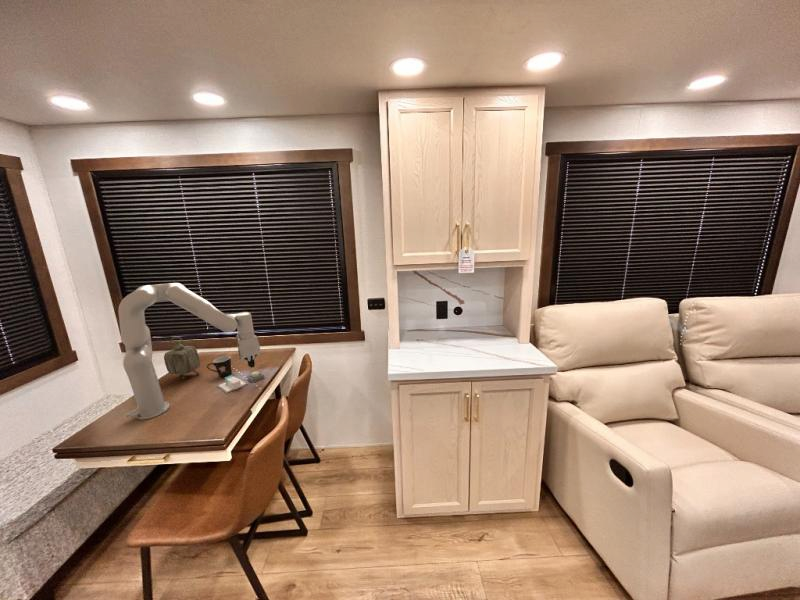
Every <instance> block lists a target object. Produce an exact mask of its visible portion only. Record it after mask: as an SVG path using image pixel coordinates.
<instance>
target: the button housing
mask: <svg viewBox="0 0 800 600" xmlns="http://www.w3.org/2000/svg"><path fill="white" fill-rule="evenodd" d="M258 372H259V375H260V376H257V377H255V378H252V377H251V374H249V375H246V379H247V381H249V382H250V383H256V382H259V381H260V380H263V379H265V374H264V373H262V372H260V371H258Z"/></svg>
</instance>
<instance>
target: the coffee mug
mask: <svg viewBox="0 0 800 600" xmlns="http://www.w3.org/2000/svg"><path fill="white" fill-rule="evenodd" d="M231 360H232V359H231V356H229V355H225V356H224V355H223V356H219V357H217V358H215V359H214V360H213V362H210V363H208V364H207V366H206V368H207V370H210V371H212V372H215V373H217V375H218V377H219V378H222V379H225V378H226V377H228V376H231V375H232V374H233V371H232V369H233V368H232V361H231ZM210 365H213V366H214V368H215V369H211V368H210V367H209V366H210Z"/></svg>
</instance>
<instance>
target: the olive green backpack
mask: <svg viewBox="0 0 800 600" xmlns="http://www.w3.org/2000/svg"><path fill="white" fill-rule="evenodd" d="M174 339H179V340H180V341H181V342H179V341H176V342H174V341H173V340H174ZM170 341H171V343H173V344H175V345H173V348H172V349H171V350H169V351H167V352H165V353H164V355H163V360H164V364H165V367H166V370H167V372H168V374H171V375H179V376H181V379H182V380H185V379H186V377H185V375H187V374H190V373H192V372H193V373H195V375H196V376H197V375H200V372H199V371H196V370H197V369H198V368H200V367H201V359H200V356H199V353H198V350H197V349H196V347H195V346H192V345H184V344H182V343H183V341H184V340H183V339H182V338H181V337H178V336H174V337H171V339H170Z"/></svg>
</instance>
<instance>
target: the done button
mask: <svg viewBox="0 0 800 600" xmlns="http://www.w3.org/2000/svg"><path fill="white" fill-rule="evenodd" d="M259 372H260V371H252V372H251V373H250V375H251V377H252V378H255V377H257V376H260V375H259Z"/></svg>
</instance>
